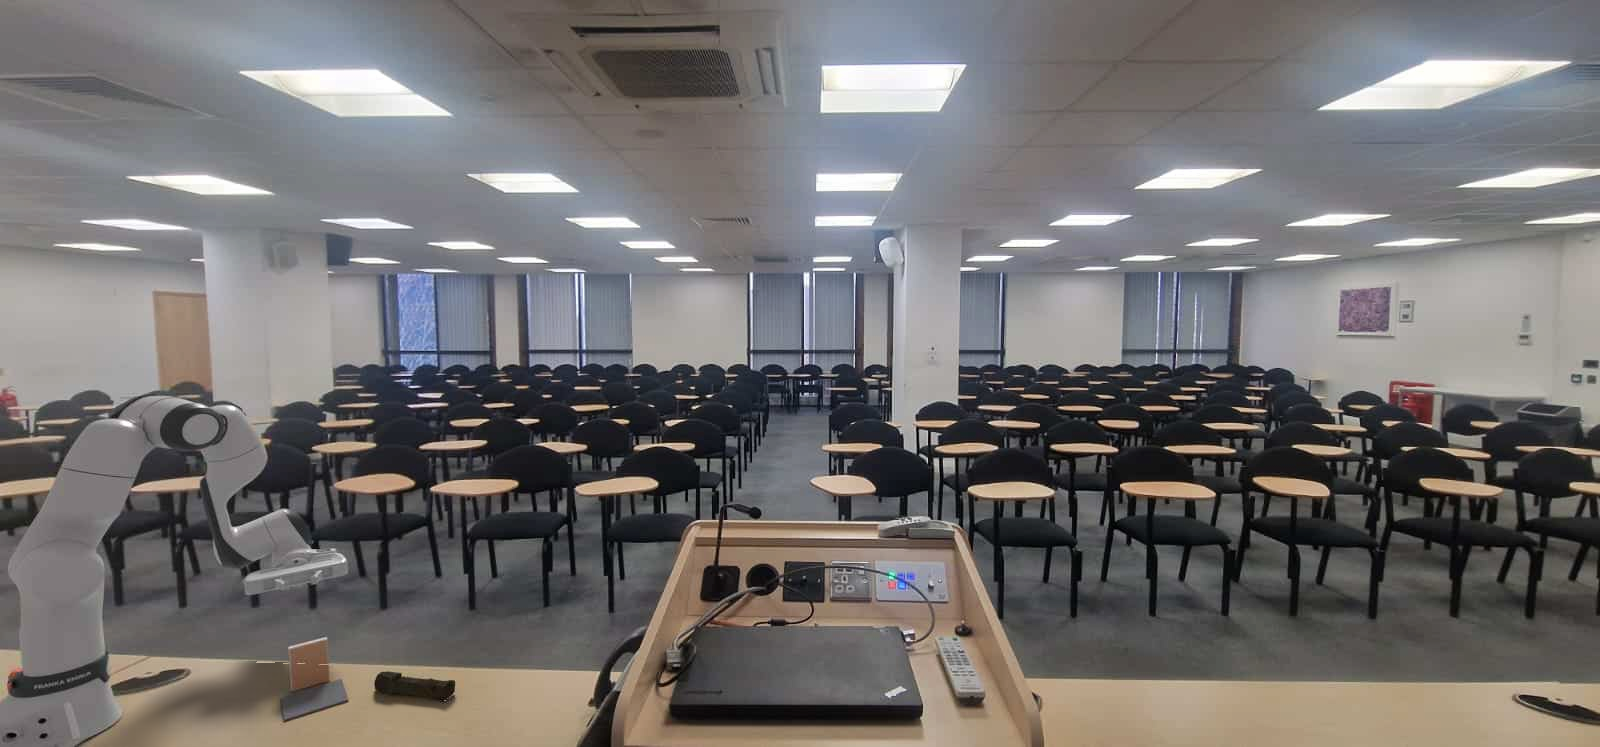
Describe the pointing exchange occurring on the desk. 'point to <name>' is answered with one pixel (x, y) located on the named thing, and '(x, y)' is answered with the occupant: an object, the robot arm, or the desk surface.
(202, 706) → the desk surface
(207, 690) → the desk surface
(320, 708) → the mat
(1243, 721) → the desk surface
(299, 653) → the tile
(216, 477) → the robot arm
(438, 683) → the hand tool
